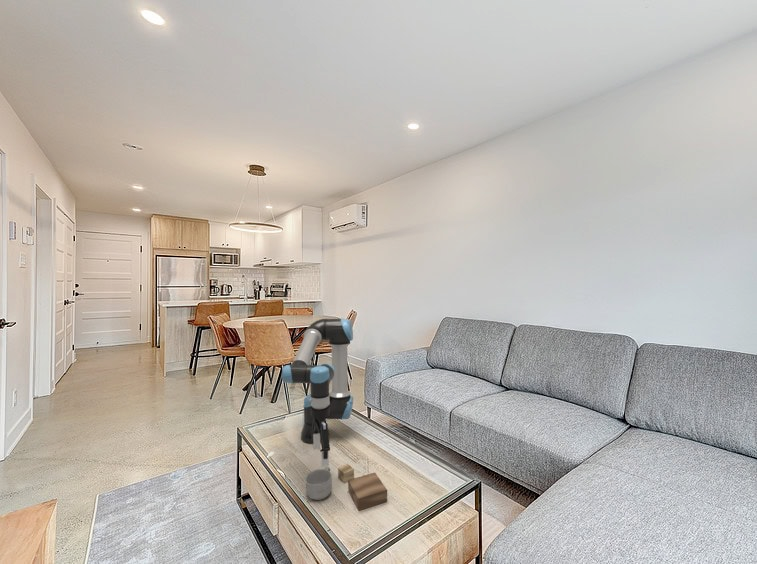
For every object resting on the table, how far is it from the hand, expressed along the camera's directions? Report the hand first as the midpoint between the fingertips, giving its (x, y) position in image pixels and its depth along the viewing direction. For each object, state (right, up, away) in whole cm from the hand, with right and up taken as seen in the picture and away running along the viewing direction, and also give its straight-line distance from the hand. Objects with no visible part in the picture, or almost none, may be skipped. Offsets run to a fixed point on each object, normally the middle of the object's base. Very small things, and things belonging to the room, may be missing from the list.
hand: (320, 456), depth 135 cm
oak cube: (+9, -15, +9) cm, 20 cm away
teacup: (0, -16, +1) cm, 16 cm away
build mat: (+18, -15, -1) cm, 24 cm away
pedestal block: (+19, -15, -3) cm, 24 cm away
